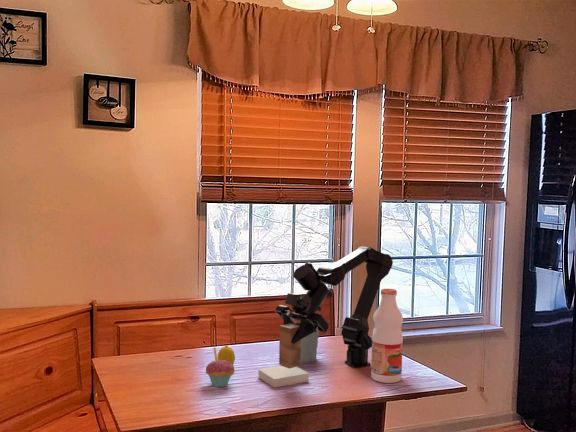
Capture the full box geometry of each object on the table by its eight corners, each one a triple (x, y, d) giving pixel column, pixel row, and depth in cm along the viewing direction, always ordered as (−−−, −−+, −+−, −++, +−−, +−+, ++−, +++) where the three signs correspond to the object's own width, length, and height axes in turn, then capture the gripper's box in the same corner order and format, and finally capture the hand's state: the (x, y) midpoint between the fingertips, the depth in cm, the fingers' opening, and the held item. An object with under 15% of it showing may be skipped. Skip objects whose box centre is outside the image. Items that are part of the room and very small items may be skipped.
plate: (291, 371, 187) (291, 364, 187) (308, 381, 179) (308, 373, 179) (258, 377, 181) (258, 369, 181) (274, 387, 173) (274, 379, 172)
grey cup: (283, 358, 201) (284, 324, 200) (302, 352, 209) (303, 319, 208) (306, 365, 194) (307, 329, 194) (324, 358, 202) (325, 324, 201)
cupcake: (211, 390, 169) (211, 349, 168) (201, 381, 176) (201, 342, 176) (238, 386, 173) (239, 346, 172) (228, 377, 180) (228, 339, 180)
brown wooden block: (290, 361, 179) (290, 323, 178) (300, 365, 176) (300, 326, 175) (279, 365, 176) (279, 325, 175) (289, 368, 172) (290, 328, 172)
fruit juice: (377, 371, 189) (379, 286, 187) (405, 377, 184) (408, 289, 183) (366, 380, 181) (368, 290, 179) (395, 385, 176) (398, 293, 175)
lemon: (231, 373, 184) (232, 348, 184) (215, 372, 186) (215, 347, 185) (236, 368, 190) (237, 343, 189) (220, 366, 191) (220, 342, 190)
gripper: (279, 279, 184) (252, 319, 177) (322, 287, 170) (294, 331, 163) (297, 300, 190) (271, 340, 183) (340, 310, 176) (314, 353, 169)
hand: (286, 341), depth 174 cm, fingers closed on brown wooden block, 4 cm apart
